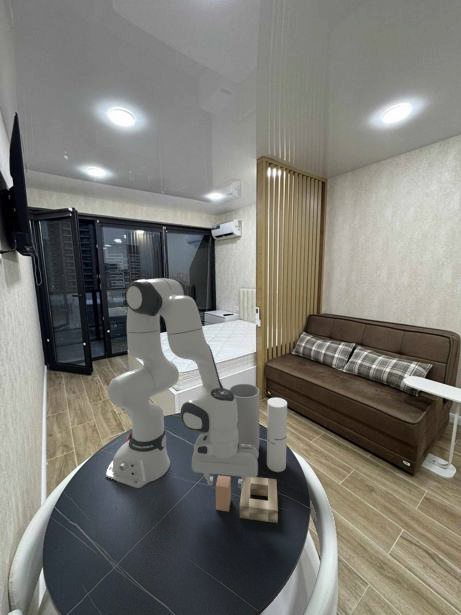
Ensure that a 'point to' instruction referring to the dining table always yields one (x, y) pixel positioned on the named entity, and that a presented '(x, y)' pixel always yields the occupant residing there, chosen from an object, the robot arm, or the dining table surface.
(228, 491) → the peg
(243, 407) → the cylinder vase
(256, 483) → the socket block
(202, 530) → the dining table surface
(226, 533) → the dining table surface
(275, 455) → the cylindrical container
